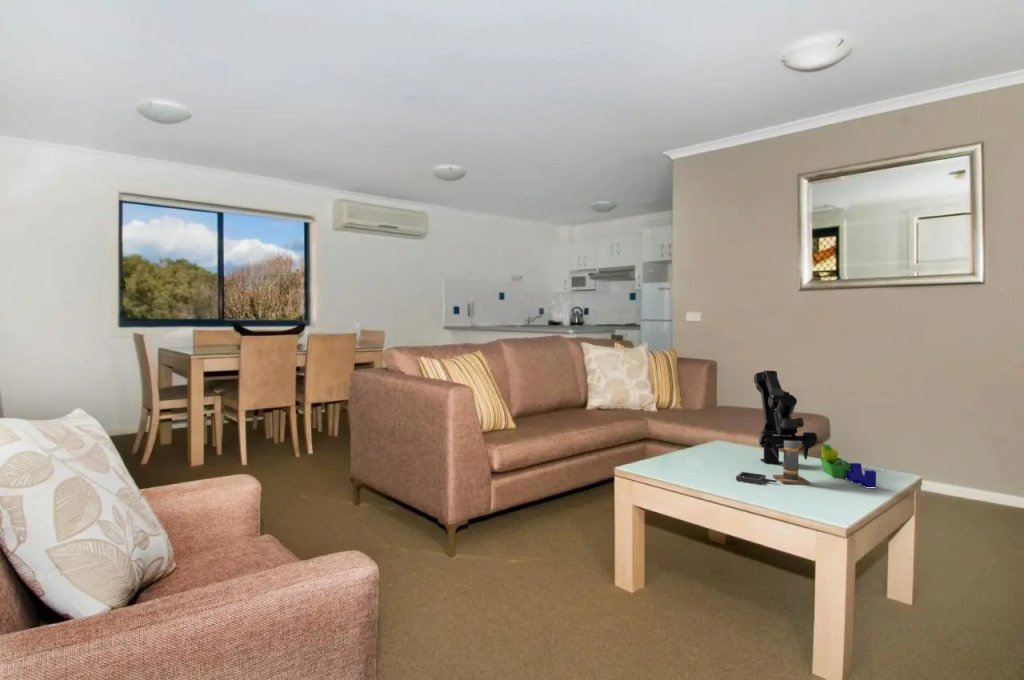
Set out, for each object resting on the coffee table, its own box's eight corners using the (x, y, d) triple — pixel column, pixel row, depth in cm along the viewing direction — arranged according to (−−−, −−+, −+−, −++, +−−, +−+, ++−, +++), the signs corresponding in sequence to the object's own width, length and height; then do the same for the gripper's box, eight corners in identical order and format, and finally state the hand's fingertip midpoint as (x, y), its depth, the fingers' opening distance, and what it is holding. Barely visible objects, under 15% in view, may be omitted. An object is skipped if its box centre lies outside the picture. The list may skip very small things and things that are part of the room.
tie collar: (742, 475, 214) (742, 471, 214) (778, 481, 207) (778, 477, 207) (736, 480, 208) (736, 476, 208) (773, 486, 200) (773, 482, 200)
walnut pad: (772, 477, 213) (772, 474, 213) (797, 477, 212) (797, 474, 212) (783, 484, 204) (783, 481, 204) (809, 484, 203) (809, 481, 203)
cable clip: (845, 479, 211) (846, 462, 211) (858, 479, 211) (859, 463, 210) (861, 488, 199) (862, 471, 199) (875, 488, 199) (876, 471, 198)
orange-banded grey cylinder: (780, 476, 209) (780, 441, 209) (790, 475, 211) (790, 440, 211) (791, 480, 205) (791, 443, 204) (801, 478, 207) (802, 442, 206)
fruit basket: (853, 479, 211) (853, 448, 210) (827, 478, 212) (827, 447, 212) (839, 471, 222) (840, 441, 222) (815, 470, 223) (815, 441, 223)
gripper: (761, 408, 213) (768, 444, 202) (816, 410, 209) (826, 447, 199) (756, 426, 221) (762, 461, 210) (809, 428, 217) (818, 464, 207)
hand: (792, 458), depth 206 cm, fingers open, 9 cm apart
